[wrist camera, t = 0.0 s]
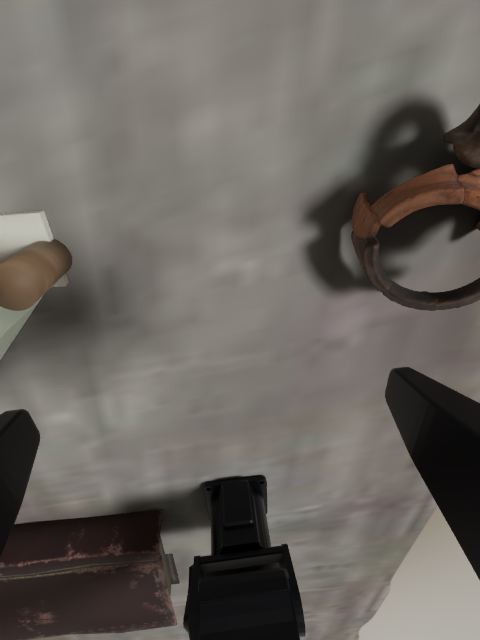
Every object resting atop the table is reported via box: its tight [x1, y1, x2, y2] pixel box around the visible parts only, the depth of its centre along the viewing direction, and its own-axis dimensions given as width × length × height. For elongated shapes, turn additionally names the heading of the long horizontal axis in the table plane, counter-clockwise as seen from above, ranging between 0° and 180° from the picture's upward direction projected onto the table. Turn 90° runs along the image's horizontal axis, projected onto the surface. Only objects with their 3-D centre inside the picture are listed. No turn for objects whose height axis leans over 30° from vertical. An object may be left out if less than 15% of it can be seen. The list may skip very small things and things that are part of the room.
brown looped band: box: [351, 104, 480, 311], centre depth 18 cm, size 12×10×8 cm
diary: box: [0, 510, 179, 640], centre depth 37 cm, size 19×25×5 cm
